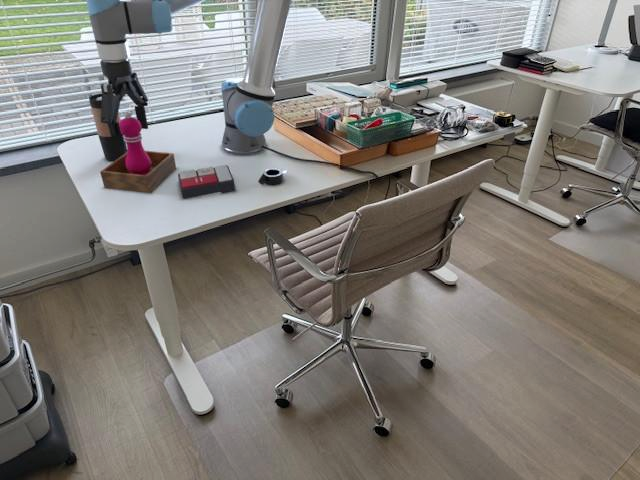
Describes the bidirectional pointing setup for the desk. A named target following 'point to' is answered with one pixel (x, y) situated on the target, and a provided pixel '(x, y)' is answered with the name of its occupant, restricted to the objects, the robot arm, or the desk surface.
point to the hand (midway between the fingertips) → (131, 136)
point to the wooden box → (123, 180)
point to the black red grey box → (206, 181)
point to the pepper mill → (134, 146)
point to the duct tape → (272, 177)
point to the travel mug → (106, 131)
